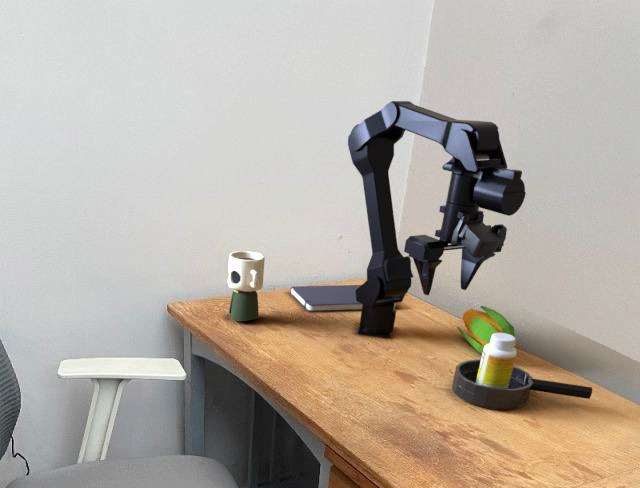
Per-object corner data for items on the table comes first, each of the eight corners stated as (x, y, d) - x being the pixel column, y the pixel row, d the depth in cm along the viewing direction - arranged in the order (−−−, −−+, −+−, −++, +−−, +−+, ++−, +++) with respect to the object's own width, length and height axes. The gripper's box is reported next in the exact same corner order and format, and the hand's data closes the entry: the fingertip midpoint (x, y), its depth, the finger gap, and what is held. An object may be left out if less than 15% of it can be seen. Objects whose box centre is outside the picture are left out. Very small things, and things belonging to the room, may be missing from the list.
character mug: (218, 311, 165) (220, 248, 158) (249, 309, 167) (253, 247, 160) (236, 329, 156) (240, 264, 149) (269, 326, 159) (274, 262, 152)
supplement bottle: (512, 397, 136) (527, 341, 130) (485, 400, 134) (499, 343, 128) (493, 384, 140) (507, 329, 134) (467, 387, 138) (480, 331, 133)
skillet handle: (529, 391, 134) (532, 380, 133) (528, 387, 136) (531, 376, 135) (589, 400, 133) (592, 389, 132) (588, 396, 134) (591, 385, 133)
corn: (496, 327, 144) (452, 292, 160) (484, 365, 148) (443, 328, 164) (531, 329, 146) (485, 295, 162) (519, 367, 150) (475, 330, 166)
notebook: (375, 290, 184) (289, 293, 178) (376, 284, 183) (290, 286, 177) (397, 308, 174) (308, 311, 168) (398, 301, 173) (308, 304, 167)
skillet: (450, 403, 133) (455, 383, 131) (452, 374, 144) (456, 355, 142) (529, 415, 131) (535, 395, 129) (525, 385, 142) (531, 366, 140)
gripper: (455, 216, 124) (436, 311, 133) (536, 210, 133) (513, 299, 141) (410, 201, 132) (395, 292, 141) (488, 196, 141) (470, 282, 149)
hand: (445, 292), depth 143 cm, fingers open, 9 cm apart
